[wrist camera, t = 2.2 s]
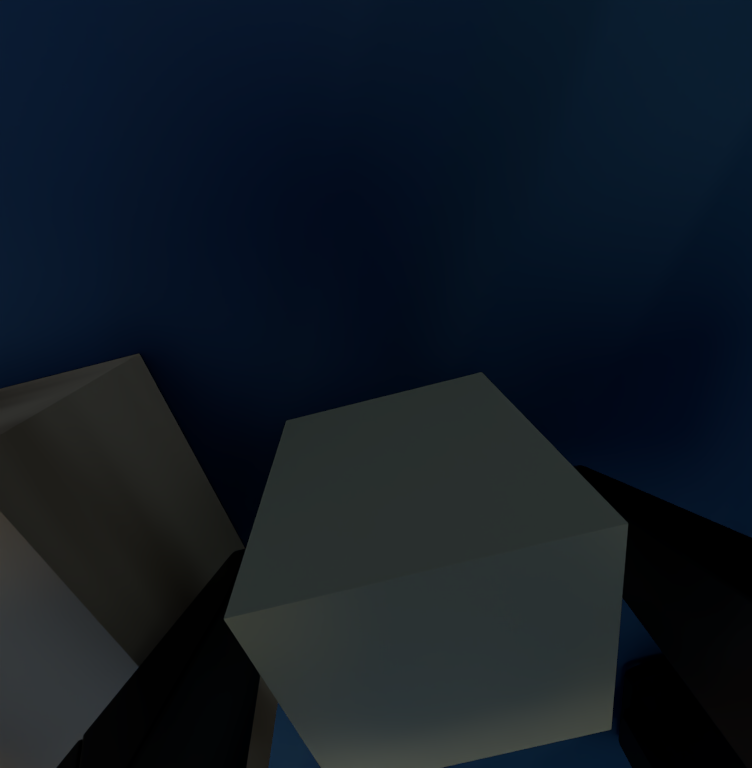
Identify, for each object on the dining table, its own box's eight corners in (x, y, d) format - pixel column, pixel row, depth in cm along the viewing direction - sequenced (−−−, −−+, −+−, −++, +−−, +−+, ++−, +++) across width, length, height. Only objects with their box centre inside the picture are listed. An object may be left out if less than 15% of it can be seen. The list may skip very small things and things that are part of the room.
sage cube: (480, 370, 9) (627, 523, 4) (498, 517, 11) (610, 729, 6) (286, 418, 9) (224, 618, 4) (340, 555, 11) (336, 790, 6)
